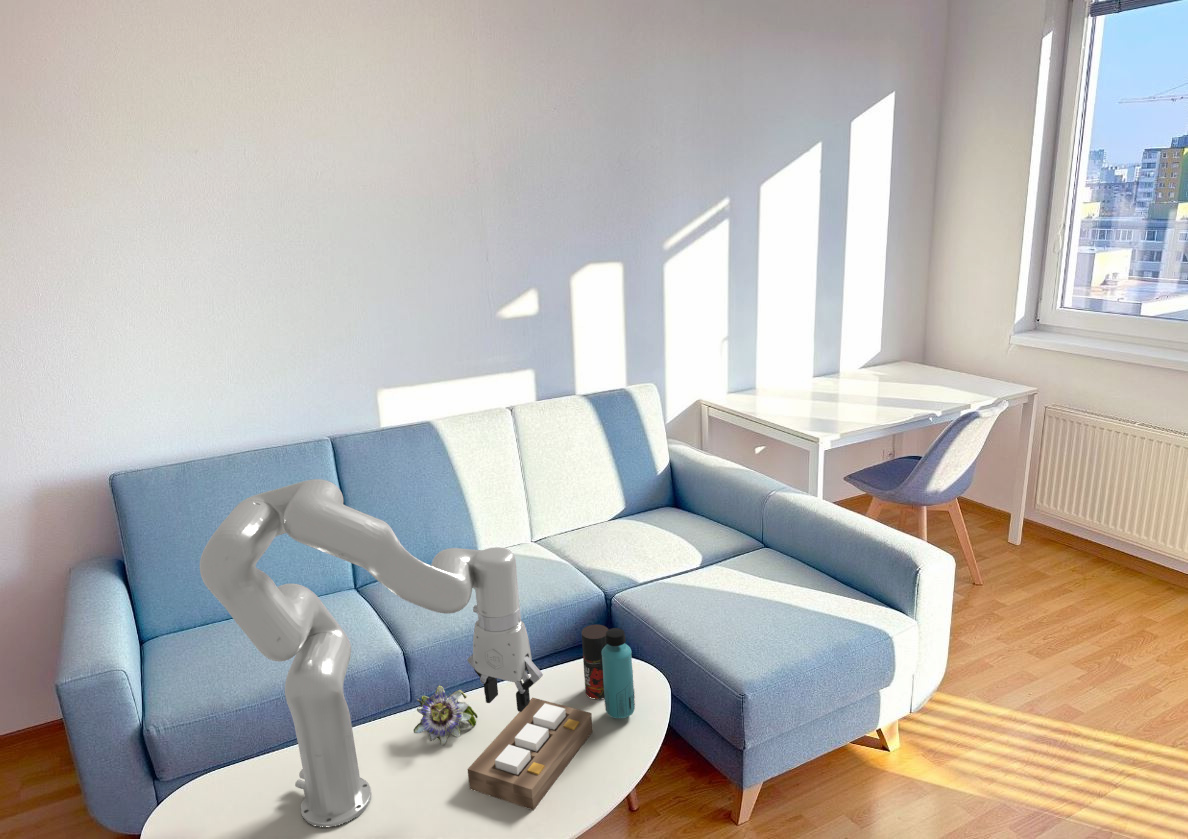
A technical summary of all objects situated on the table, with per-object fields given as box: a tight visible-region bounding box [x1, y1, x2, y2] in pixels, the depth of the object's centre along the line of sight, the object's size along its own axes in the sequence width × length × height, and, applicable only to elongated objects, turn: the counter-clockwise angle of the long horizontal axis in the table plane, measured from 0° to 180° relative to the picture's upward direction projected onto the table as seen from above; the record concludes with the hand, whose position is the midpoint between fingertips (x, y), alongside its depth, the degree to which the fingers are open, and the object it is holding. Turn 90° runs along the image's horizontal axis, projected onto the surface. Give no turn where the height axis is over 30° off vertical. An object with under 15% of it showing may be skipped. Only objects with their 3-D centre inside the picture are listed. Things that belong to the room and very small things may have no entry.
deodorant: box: [581, 624, 609, 700], centre depth 183 cm, size 6×6×15 cm
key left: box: [495, 745, 531, 775], centre depth 157 cm, size 5×5×2 cm
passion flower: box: [413, 684, 478, 746], centre depth 174 cm, size 11×11×12 cm
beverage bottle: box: [602, 627, 636, 719], centre depth 174 cm, size 6×7×20 cm
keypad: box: [467, 697, 594, 811], centre depth 164 cm, size 14×24×5 cm, turn 153°
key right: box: [533, 703, 566, 730], centre depth 169 cm, size 5×5×2 cm
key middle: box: [515, 723, 549, 752], centre depth 163 cm, size 5×5×2 cm
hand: (507, 702), depth 154 cm, fingers open, 6 cm apart
